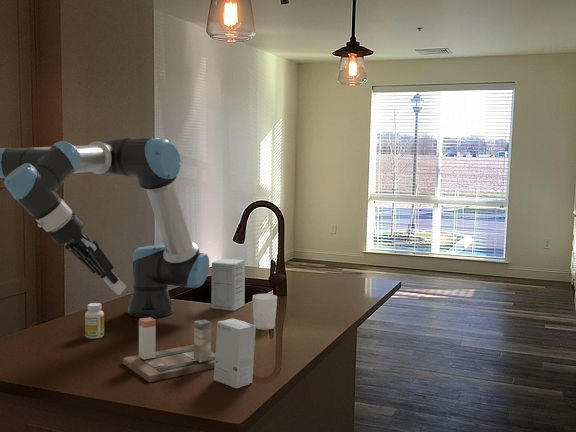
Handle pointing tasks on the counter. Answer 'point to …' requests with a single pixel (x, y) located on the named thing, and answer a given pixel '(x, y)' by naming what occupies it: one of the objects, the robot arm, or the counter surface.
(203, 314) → the counter surface
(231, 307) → the supplement box
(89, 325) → the supplement bottle
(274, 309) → the white cup
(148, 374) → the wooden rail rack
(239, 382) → the skincare box
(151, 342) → the tab
